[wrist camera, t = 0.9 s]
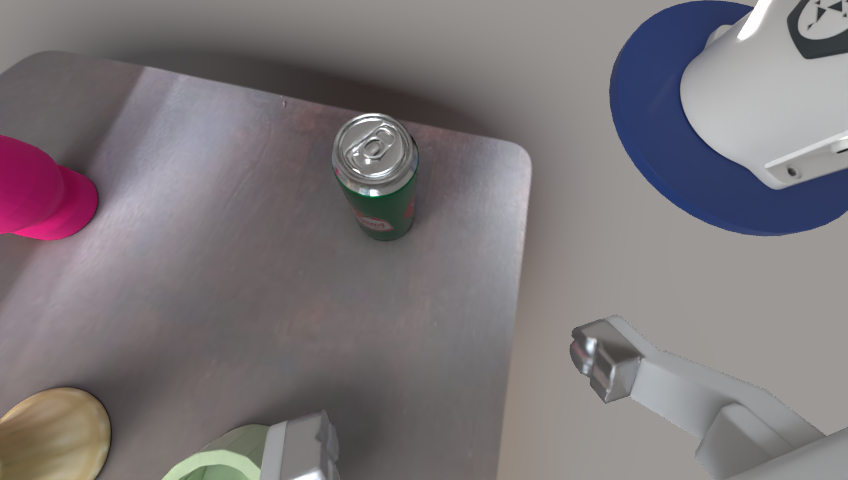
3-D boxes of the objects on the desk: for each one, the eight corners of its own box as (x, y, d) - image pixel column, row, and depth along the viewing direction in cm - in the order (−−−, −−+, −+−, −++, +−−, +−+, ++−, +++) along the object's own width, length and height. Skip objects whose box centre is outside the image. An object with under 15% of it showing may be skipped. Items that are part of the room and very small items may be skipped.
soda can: (346, 218, 29) (306, 151, 17) (383, 179, 30) (369, 90, 18) (389, 253, 28) (377, 209, 17) (425, 212, 29) (438, 143, 18)
